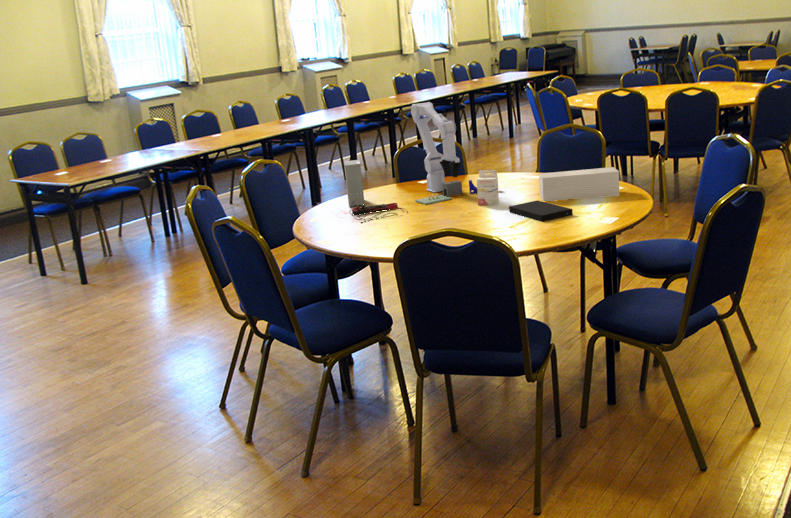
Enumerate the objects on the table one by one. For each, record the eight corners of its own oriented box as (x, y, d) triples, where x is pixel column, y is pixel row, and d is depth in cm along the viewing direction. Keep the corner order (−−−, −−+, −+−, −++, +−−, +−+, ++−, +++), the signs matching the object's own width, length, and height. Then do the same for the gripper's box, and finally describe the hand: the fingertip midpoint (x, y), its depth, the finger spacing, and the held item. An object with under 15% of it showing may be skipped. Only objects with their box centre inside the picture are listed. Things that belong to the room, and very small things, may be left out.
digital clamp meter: (343, 206, 325) (395, 197, 331) (344, 215, 326) (396, 206, 332) (355, 215, 303) (411, 205, 309) (356, 225, 304) (412, 216, 311)
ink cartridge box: (477, 205, 315) (475, 172, 311) (480, 203, 320) (478, 170, 316) (497, 205, 312) (495, 171, 308) (499, 202, 317) (497, 169, 313)
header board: (415, 201, 336) (414, 195, 336) (441, 196, 342) (440, 190, 341) (425, 204, 328) (424, 198, 327) (451, 199, 333) (451, 193, 332)
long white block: (543, 202, 309) (542, 177, 306) (540, 197, 319) (539, 173, 316) (619, 196, 306) (619, 171, 303) (613, 191, 317) (613, 167, 314)
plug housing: (443, 195, 344) (442, 183, 343) (457, 192, 347) (456, 180, 346) (447, 196, 340) (446, 184, 339) (462, 193, 343) (461, 181, 342)
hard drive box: (365, 205, 339) (360, 163, 334) (349, 207, 339) (343, 165, 333) (364, 199, 354) (359, 159, 349) (348, 201, 354) (343, 160, 348)
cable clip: (469, 194, 341) (468, 181, 339) (469, 192, 345) (468, 180, 344) (495, 192, 340) (494, 179, 338) (494, 190, 344) (493, 178, 342)
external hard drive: (538, 207, 303) (537, 200, 302) (572, 216, 282) (572, 208, 281) (509, 213, 297) (509, 206, 297) (542, 223, 277) (542, 215, 276)
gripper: (434, 147, 342) (436, 175, 346) (449, 150, 330) (451, 179, 333) (447, 145, 345) (449, 173, 349) (462, 147, 332) (464, 176, 336)
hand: (451, 176), depth 341 cm, fingers open, 7 cm apart
